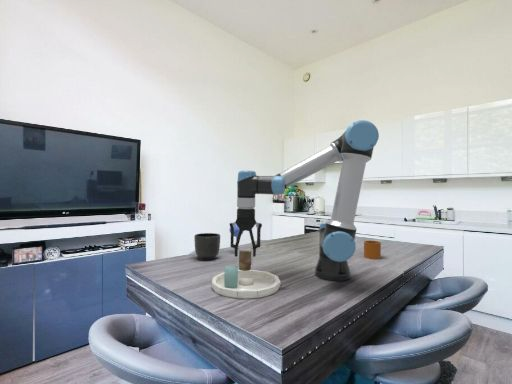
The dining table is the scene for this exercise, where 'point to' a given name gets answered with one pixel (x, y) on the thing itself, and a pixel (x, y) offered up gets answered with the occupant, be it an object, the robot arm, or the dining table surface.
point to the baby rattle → (236, 231)
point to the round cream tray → (248, 285)
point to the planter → (207, 245)
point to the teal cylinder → (230, 277)
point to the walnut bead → (244, 260)
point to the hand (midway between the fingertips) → (245, 264)
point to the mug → (372, 249)
